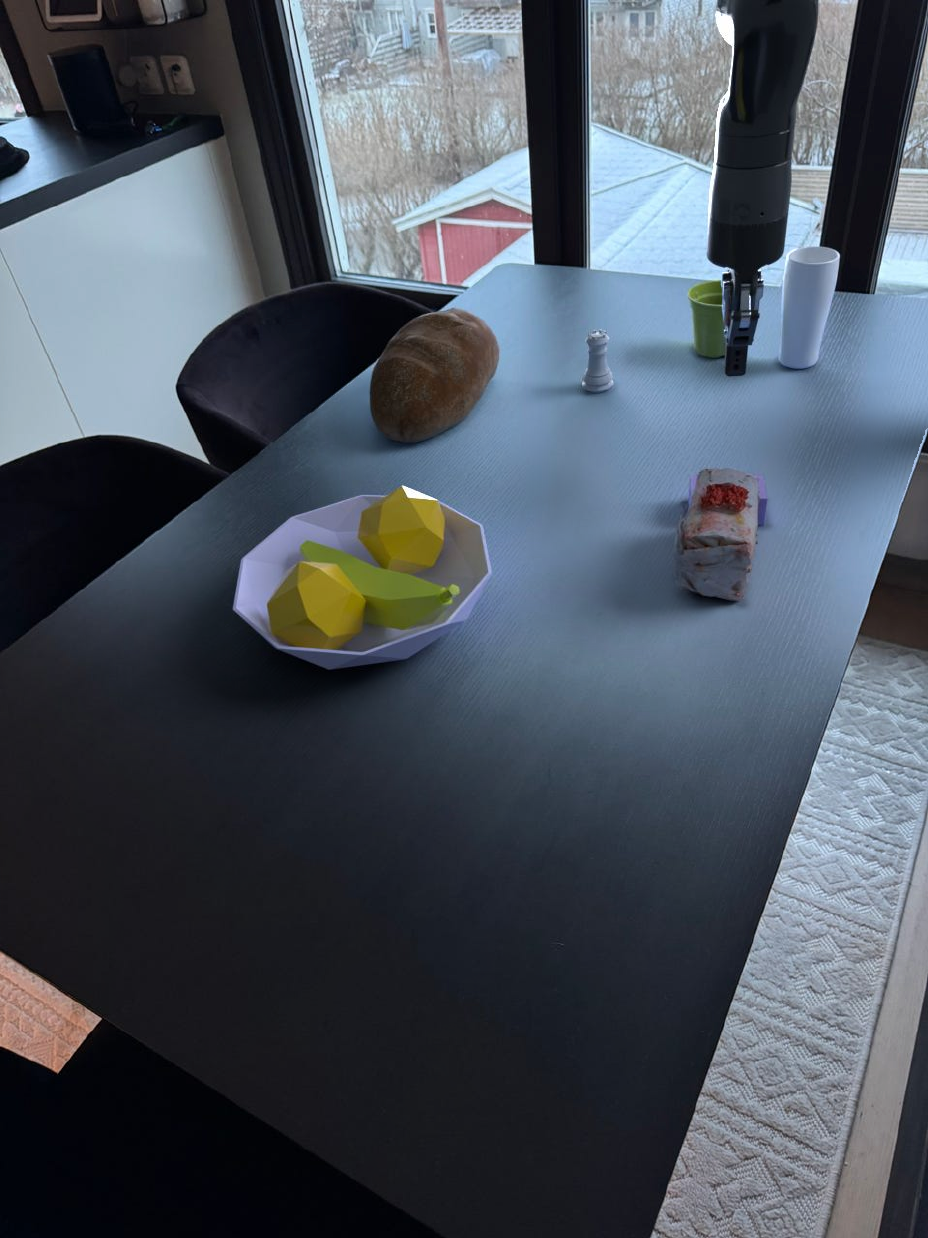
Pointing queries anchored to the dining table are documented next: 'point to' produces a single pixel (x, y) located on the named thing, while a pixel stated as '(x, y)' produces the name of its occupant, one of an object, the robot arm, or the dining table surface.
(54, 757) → the dining table surface
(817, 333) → the drinking glass
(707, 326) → the plant pot
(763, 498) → the lavender block
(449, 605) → the fruit bowl
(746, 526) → the food item
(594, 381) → the rook chess piece
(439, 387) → the bread
